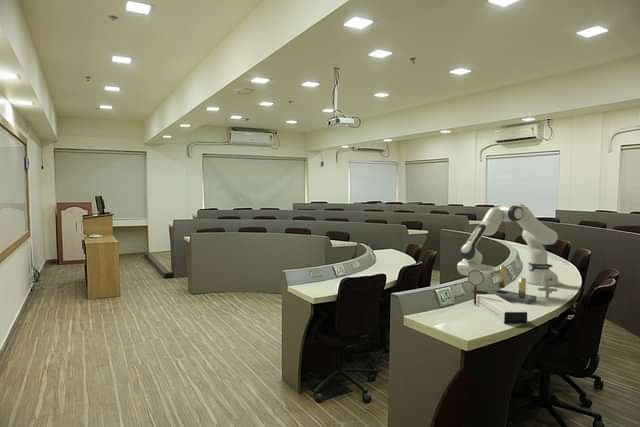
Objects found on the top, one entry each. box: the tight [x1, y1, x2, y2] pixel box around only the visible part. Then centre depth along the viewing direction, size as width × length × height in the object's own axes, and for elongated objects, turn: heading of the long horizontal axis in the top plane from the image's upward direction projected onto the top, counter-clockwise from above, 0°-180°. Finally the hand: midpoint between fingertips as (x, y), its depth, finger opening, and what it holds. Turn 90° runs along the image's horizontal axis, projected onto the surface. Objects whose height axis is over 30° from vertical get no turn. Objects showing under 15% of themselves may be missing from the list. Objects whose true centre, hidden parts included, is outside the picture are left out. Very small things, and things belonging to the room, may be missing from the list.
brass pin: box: [497, 265, 507, 289], centre depth 250 cm, size 4×4×13 cm
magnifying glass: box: [467, 270, 485, 306], centre depth 230 cm, size 9×2×20 cm, turn 57°
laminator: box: [475, 293, 528, 324], centre depth 216 cm, size 34×12×6 cm, turn 2°
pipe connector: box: [537, 281, 558, 299], centre depth 248 cm, size 10×10×10 cm
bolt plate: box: [487, 277, 538, 305], centre depth 246 cm, size 24×12×13 cm, turn 42°
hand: (503, 274), depth 250 cm, fingers closed on brass pin, 4 cm apart
